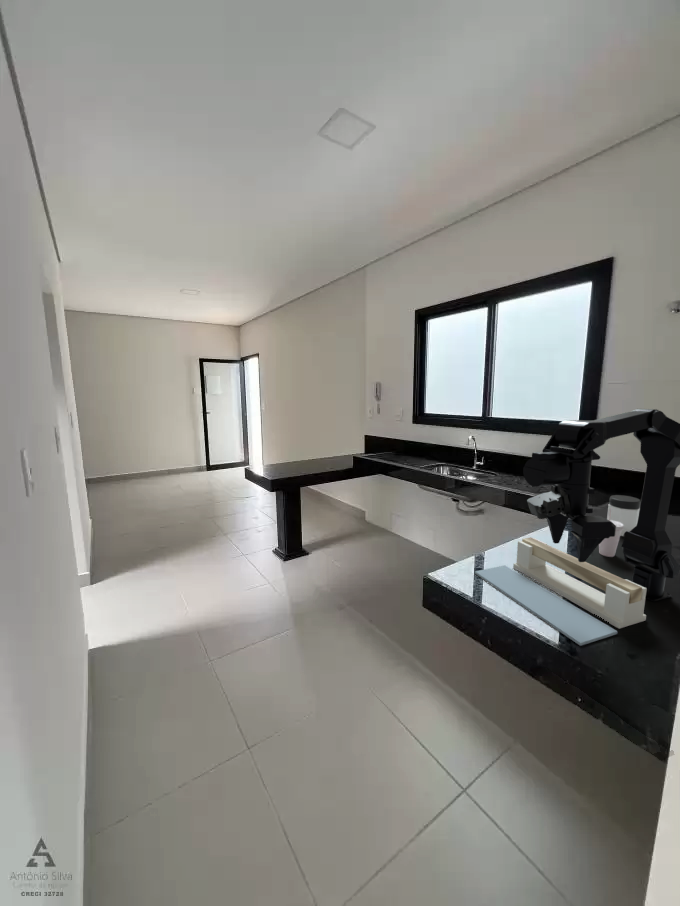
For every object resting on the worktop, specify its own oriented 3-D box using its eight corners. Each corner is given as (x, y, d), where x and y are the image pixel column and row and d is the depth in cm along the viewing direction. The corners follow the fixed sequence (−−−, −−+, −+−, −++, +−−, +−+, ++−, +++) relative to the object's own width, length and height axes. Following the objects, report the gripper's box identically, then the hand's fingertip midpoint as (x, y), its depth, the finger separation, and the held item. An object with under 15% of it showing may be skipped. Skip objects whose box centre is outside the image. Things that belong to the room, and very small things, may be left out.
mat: (504, 567, 101) (504, 565, 101) (617, 633, 73) (617, 631, 73) (474, 573, 97) (474, 571, 97) (580, 645, 69) (580, 642, 69)
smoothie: (609, 549, 111) (614, 505, 109) (626, 558, 105) (631, 511, 102) (588, 549, 111) (593, 505, 109) (604, 559, 104) (609, 512, 102)
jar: (609, 525, 130) (613, 493, 128) (638, 532, 124) (642, 498, 122) (603, 532, 124) (606, 498, 122) (633, 539, 118) (637, 503, 116)
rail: (530, 547, 101) (530, 537, 101) (640, 600, 75) (642, 587, 75) (521, 549, 100) (522, 538, 100) (630, 603, 74) (632, 590, 74)
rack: (535, 562, 103) (537, 537, 102) (645, 620, 77) (650, 587, 76) (513, 567, 100) (515, 541, 99) (619, 628, 74) (623, 594, 73)
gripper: (514, 472, 85) (511, 535, 88) (559, 495, 67) (554, 574, 69) (562, 471, 85) (558, 534, 87) (621, 493, 66) (613, 573, 69)
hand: (568, 551), depth 78 cm, fingers open, 9 cm apart
